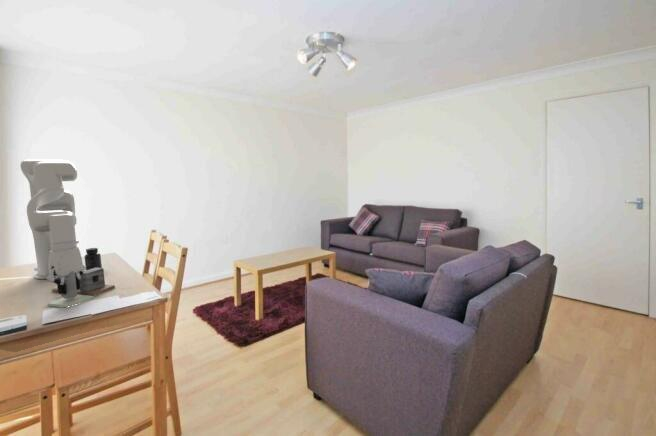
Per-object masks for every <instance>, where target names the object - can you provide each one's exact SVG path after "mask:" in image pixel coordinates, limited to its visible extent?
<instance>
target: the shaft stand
mask: <svg viewBox="0 0 656 436" xmlns="http://www.w3.org/2000/svg"><path fill="white" fill-rule="evenodd" d="M92 277H93V278H92ZM79 281H80V289H79V290H77V294H78V295H88V296H93V297H96V296H97V295H100V294H103V293H106V292H109V291H111V290H113V289H115V286H116V285H114V284H106V280H105V271H104V268H103V267H102V268H93V269H90V270H85V271H84V272H83V274H82V275H81V279H79ZM51 292H52V293H58V294H59V292H58V286H57V287H54V288H51Z"/></svg>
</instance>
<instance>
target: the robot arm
mask: <svg viewBox="0 0 656 436" xmlns="http://www.w3.org/2000/svg"><path fill="white" fill-rule="evenodd" d="M20 170H21V172H22V174H23V176H24V177H25V179H26V180H27V181H28V183H29V193H30V200H29V201H28V203H27V206H26V215H27V221H28V224H29V225H28V226H29V228H30V229H31V234H32V237H33V245H34V250H35V257H36V266H37V267H35V268H34V272H37V273H36V274H34V275H33V276H34V279H36V280H45V279H46V280H47V281H49V282H53V283H54V284H55V285H56V286H57V287H58V292H59V293H58V292H57V293H58V295H62V294H66V293H67V290H66V284H64V279H65V276H67V275H69V273H70V272H73V271H74V273H75V277H76V287H77V290H79V289H80V281H79V279H81V275H82V274H83V272H84V271H86V267H85V265H84V264H83V258H82V254H81V251H80V249H79V247H78V246H77V245H78V244H79V243H80V241H79V240H78V239H77V236H76V229H75V228H76V227H75V226H76V225H77V216H76V204H75V202H76V201H75V198H74V195H73V193H72V192H71V191H69V190H65V188H64V185H63V182H75V181H76V180H77V178H78V171H77V168H76V166H75V164H74V163H73V162H71V161H69V160H66V159H64V160H63V159H32V158H31V159H25V160H22V161H21V162H20ZM37 211H39V212H37Z"/></svg>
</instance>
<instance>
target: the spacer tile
mask: <svg viewBox="0 0 656 436" xmlns="http://www.w3.org/2000/svg"><path fill="white" fill-rule="evenodd" d="M93 299H94V296H88V295H78V294H77V296H76V297H73V298H69V299H64V298H63V297H61V298H58V299H56V300H53V301H51V302H47V306H48V307H53V308H54V307H55V308H62V307H68V306H72V305H75V304H78V305H79V303H80V304H83V303H85V302H87V300H88V301H90V300H93ZM82 302H83V303H82ZM75 306H76V305H75Z"/></svg>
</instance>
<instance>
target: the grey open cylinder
mask: <svg viewBox="0 0 656 436" xmlns="http://www.w3.org/2000/svg"><path fill="white" fill-rule="evenodd" d="M64 284H66V290H67V293H66V294H61V295H62V298H64V299H69V298H73V297H76V296H77V287H76V277H75V273H74V271H73V272H70V273H69V275H67V276H65V279H64Z"/></svg>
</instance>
